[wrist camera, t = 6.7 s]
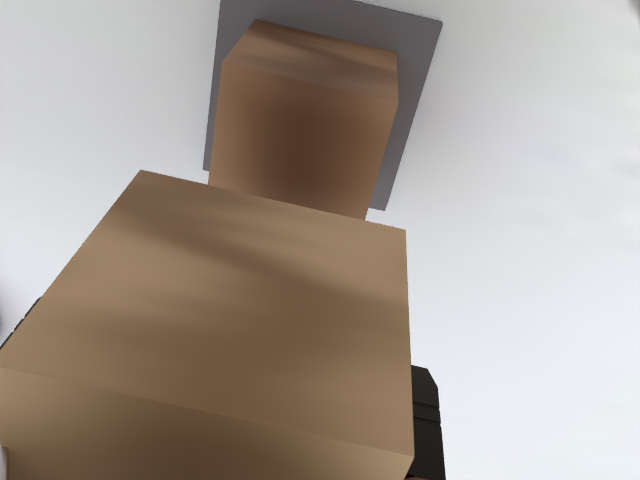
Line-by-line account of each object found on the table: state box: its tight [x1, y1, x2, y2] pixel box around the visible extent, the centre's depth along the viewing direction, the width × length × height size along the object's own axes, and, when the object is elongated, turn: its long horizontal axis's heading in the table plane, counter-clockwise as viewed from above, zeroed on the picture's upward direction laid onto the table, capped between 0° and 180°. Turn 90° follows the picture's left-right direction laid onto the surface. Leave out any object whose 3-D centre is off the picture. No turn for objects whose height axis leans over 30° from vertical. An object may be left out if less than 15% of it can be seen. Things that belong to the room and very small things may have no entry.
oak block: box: [0, 170, 414, 480], centre depth 12 cm, size 6×6×6 cm
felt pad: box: [203, 0, 442, 211], centre depth 27 cm, size 9×9×1 cm
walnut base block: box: [208, 19, 399, 221], centre depth 24 cm, size 6×6×6 cm
